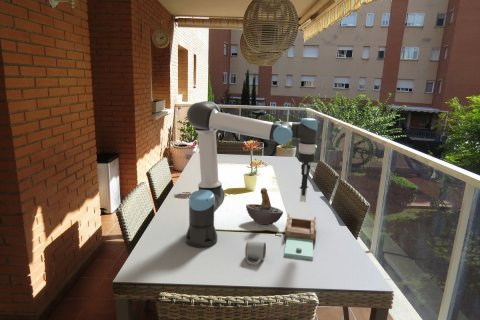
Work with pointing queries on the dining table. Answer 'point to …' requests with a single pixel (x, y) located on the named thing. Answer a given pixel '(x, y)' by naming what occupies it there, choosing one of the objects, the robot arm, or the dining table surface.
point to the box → (300, 228)
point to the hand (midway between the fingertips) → (302, 201)
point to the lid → (299, 248)
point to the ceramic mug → (255, 251)
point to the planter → (264, 210)
